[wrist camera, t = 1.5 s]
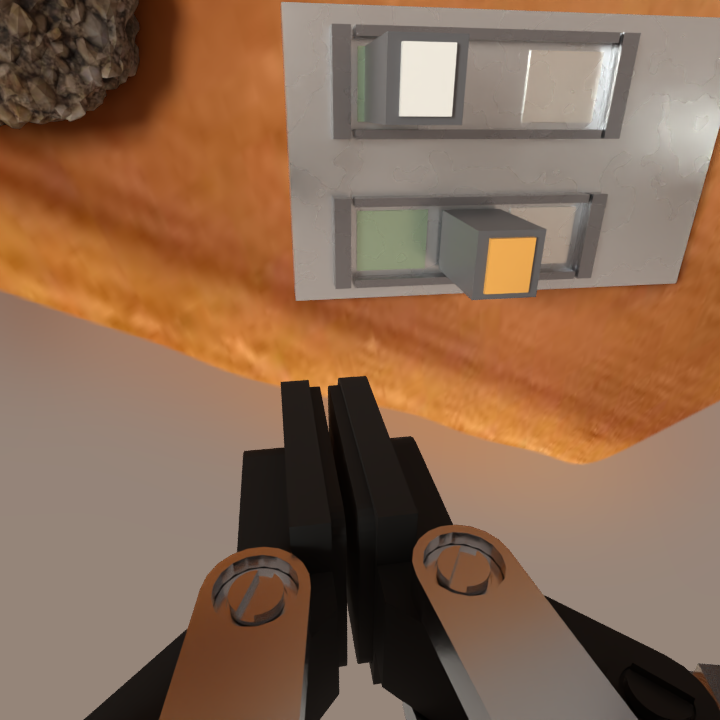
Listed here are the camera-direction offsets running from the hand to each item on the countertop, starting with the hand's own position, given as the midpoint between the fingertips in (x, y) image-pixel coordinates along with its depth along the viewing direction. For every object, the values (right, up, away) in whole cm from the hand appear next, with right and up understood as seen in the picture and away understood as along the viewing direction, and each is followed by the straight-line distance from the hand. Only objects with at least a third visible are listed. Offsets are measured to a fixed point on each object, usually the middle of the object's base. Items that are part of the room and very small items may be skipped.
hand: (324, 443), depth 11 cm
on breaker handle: (+2, +14, +13) cm, 19 cm away
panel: (+8, +12, +17) cm, 22 cm away
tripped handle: (+6, +8, +17) cm, 19 cm away
